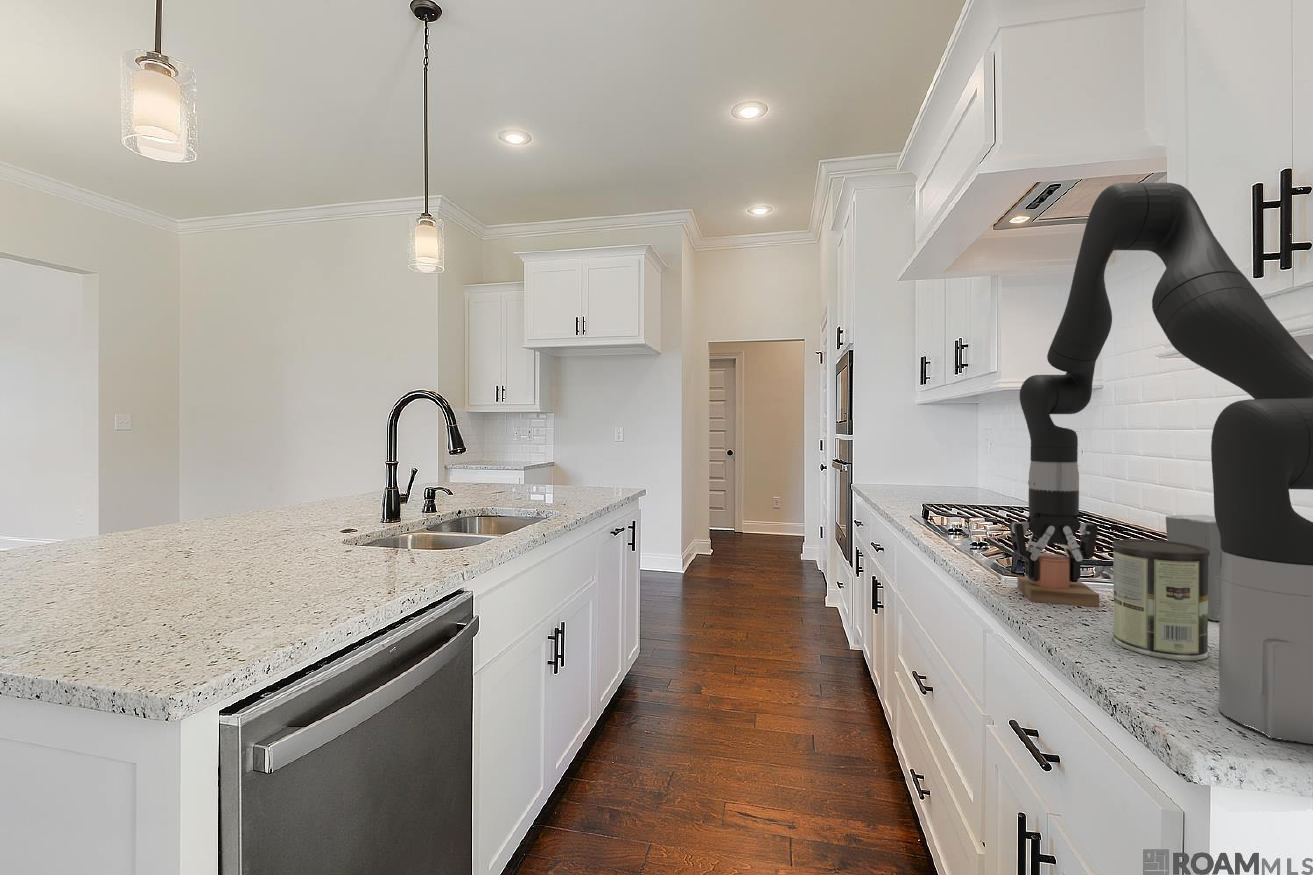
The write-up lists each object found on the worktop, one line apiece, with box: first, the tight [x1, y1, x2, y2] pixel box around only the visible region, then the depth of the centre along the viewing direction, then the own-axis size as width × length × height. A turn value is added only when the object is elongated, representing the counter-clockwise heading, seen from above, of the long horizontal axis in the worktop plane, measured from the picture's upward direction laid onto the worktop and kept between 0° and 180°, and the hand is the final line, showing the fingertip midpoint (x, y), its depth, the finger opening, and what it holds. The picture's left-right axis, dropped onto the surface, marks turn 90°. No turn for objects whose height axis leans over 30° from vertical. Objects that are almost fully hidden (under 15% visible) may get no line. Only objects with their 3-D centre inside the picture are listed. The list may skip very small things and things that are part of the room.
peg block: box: [1016, 576, 1100, 608], centre depth 108 cm, size 10×10×6 cm
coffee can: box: [1111, 538, 1210, 662], centre depth 84 cm, size 10×10×14 cm
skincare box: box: [1165, 514, 1221, 622], centre depth 98 cm, size 8×7×16 cm
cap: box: [1032, 552, 1071, 589], centre depth 109 cm, size 6×6×5 cm
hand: (1052, 580), depth 108 cm, fingers closed on cap, 6 cm apart
